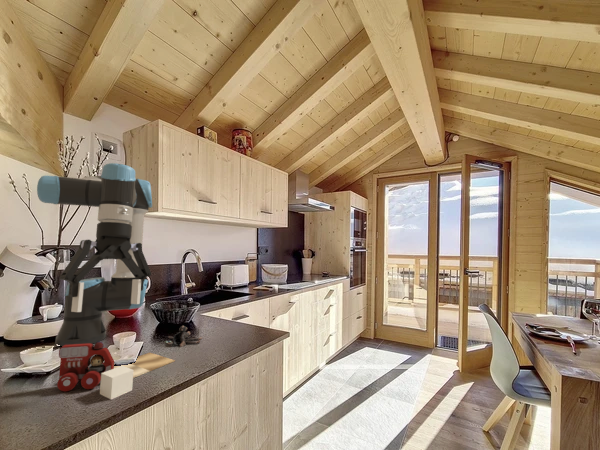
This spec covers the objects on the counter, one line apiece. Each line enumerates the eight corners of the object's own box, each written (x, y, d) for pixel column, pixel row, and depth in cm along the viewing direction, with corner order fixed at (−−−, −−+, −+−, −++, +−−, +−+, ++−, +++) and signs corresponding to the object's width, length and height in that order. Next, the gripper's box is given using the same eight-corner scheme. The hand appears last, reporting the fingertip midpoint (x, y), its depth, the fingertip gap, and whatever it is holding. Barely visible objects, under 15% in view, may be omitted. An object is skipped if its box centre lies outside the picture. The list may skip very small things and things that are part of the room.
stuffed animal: (197, 344, 100) (170, 325, 100) (180, 367, 99) (154, 347, 100) (207, 334, 111) (183, 316, 112) (193, 354, 111) (169, 336, 111)
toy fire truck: (106, 388, 70) (108, 346, 71) (48, 393, 67) (51, 350, 68) (117, 375, 77) (119, 337, 77) (66, 379, 74) (68, 340, 75)
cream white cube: (99, 394, 68) (101, 373, 68) (120, 385, 72) (122, 365, 72) (110, 399, 65) (112, 378, 66) (132, 390, 70) (133, 370, 70)
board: (93, 372, 79) (93, 371, 79) (149, 353, 93) (149, 352, 93) (118, 384, 72) (118, 383, 72) (175, 361, 87) (175, 360, 87)
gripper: (64, 214, 59) (53, 317, 56) (167, 227, 81) (163, 301, 78) (47, 217, 62) (36, 314, 59) (150, 229, 84) (146, 300, 81)
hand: (108, 307), depth 68 cm, fingers open, 13 cm apart
